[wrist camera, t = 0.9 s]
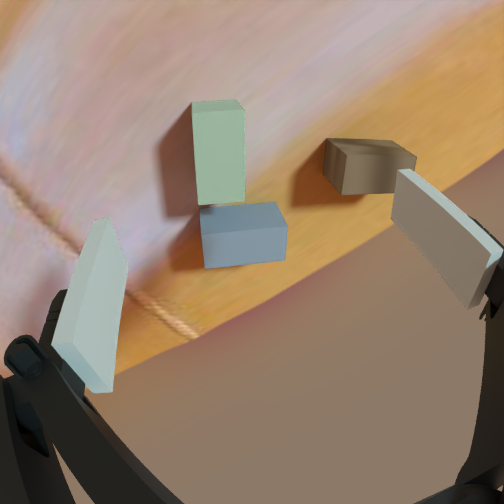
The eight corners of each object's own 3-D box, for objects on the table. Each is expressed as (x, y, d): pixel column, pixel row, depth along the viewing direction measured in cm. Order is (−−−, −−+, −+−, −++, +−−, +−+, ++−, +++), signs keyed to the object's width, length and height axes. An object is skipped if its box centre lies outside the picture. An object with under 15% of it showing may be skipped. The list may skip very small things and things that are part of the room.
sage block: (237, 178, 32) (244, 201, 28) (196, 181, 31) (198, 205, 27) (236, 99, 27) (244, 110, 23) (191, 102, 26) (191, 113, 22)
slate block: (202, 239, 35) (204, 269, 31) (199, 207, 33) (201, 234, 29) (273, 232, 36) (285, 260, 32) (275, 201, 34) (287, 226, 30)
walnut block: (322, 173, 33) (341, 195, 29) (326, 137, 31) (346, 155, 27) (385, 172, 34) (409, 192, 30) (391, 140, 32) (417, 157, 28)
